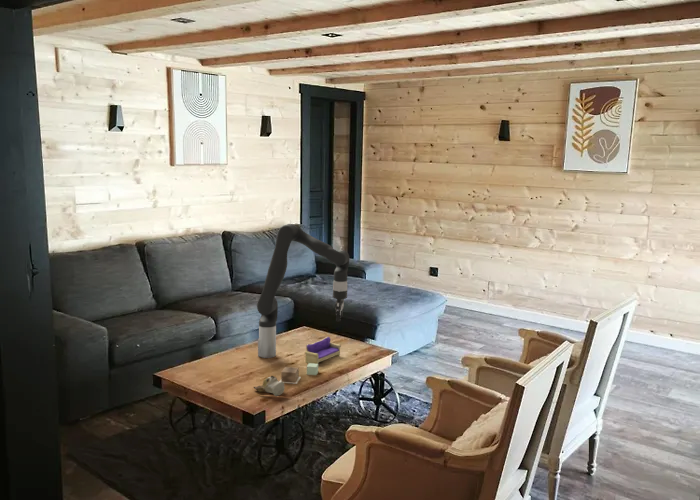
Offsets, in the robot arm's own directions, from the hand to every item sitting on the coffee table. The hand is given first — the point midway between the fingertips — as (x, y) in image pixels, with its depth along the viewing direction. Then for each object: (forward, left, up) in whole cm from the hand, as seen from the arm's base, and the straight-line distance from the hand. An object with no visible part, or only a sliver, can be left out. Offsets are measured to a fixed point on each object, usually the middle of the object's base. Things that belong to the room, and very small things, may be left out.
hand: (339, 318), depth 320 cm
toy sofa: (-9, +6, -25) cm, 28 cm away
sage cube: (-10, -17, -25) cm, 32 cm away
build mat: (-19, -28, -25) cm, 42 cm away
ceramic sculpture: (-25, -44, -25) cm, 56 cm away
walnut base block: (-20, -28, -24) cm, 42 cm away
